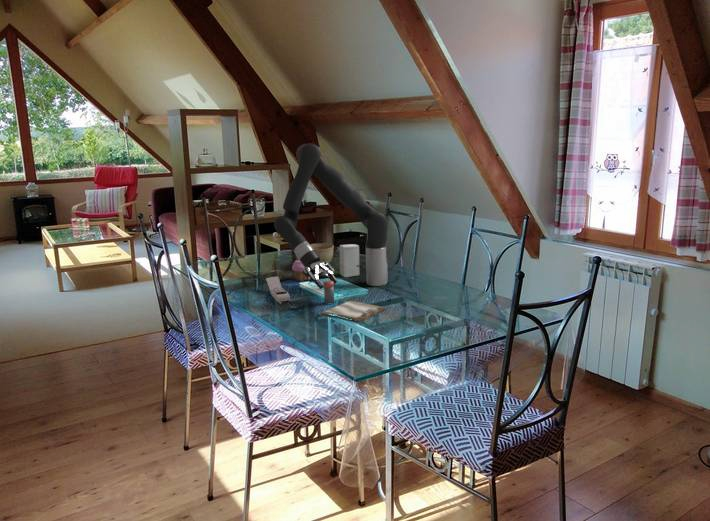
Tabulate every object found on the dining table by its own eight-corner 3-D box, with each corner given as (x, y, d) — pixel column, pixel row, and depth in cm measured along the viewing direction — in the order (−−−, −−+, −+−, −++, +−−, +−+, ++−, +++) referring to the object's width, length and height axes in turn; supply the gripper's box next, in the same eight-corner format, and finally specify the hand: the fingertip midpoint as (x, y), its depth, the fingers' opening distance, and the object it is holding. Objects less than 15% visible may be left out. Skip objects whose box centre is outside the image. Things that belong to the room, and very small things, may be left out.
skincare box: (344, 277, 282) (343, 247, 279) (339, 274, 288) (338, 244, 284) (360, 275, 286) (359, 245, 282) (355, 272, 291) (354, 243, 288)
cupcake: (300, 283, 274) (298, 262, 272) (289, 280, 281) (288, 259, 278) (315, 279, 280) (314, 259, 278) (304, 276, 286) (303, 256, 284)
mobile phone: (278, 276, 267) (291, 289, 244) (279, 288, 268) (292, 303, 245) (265, 277, 265) (277, 291, 242) (266, 290, 266) (278, 305, 244)
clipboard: (350, 302, 244) (350, 297, 243) (386, 309, 233) (386, 304, 233) (322, 314, 230) (322, 309, 229) (359, 322, 219) (359, 317, 219)
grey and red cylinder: (328, 300, 247) (328, 280, 245) (336, 302, 244) (335, 281, 242) (322, 303, 244) (321, 282, 242) (330, 304, 241) (329, 283, 239)
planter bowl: (340, 265, 307) (339, 244, 305) (322, 272, 294) (321, 250, 291) (315, 262, 316) (314, 242, 313) (297, 268, 302) (295, 248, 300)
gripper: (299, 252, 239) (322, 284, 234) (322, 246, 250) (344, 276, 245) (290, 263, 243) (313, 294, 239) (313, 257, 254) (335, 286, 250)
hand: (329, 285), depth 242 cm, fingers open, 8 cm apart
